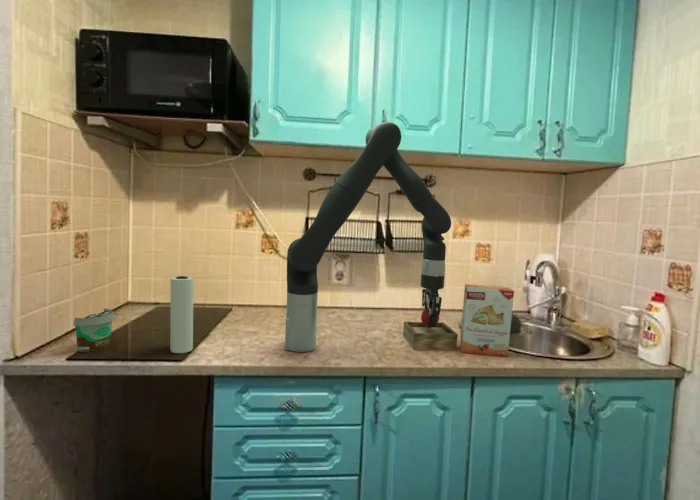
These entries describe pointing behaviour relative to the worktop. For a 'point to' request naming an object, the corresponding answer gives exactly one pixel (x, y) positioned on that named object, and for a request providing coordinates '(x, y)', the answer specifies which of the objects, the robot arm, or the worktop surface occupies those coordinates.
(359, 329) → the worktop surface
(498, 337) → the cracker box
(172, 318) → the paper towel roll
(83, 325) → the food container
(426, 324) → the onion
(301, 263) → the robot arm
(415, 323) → the tray
